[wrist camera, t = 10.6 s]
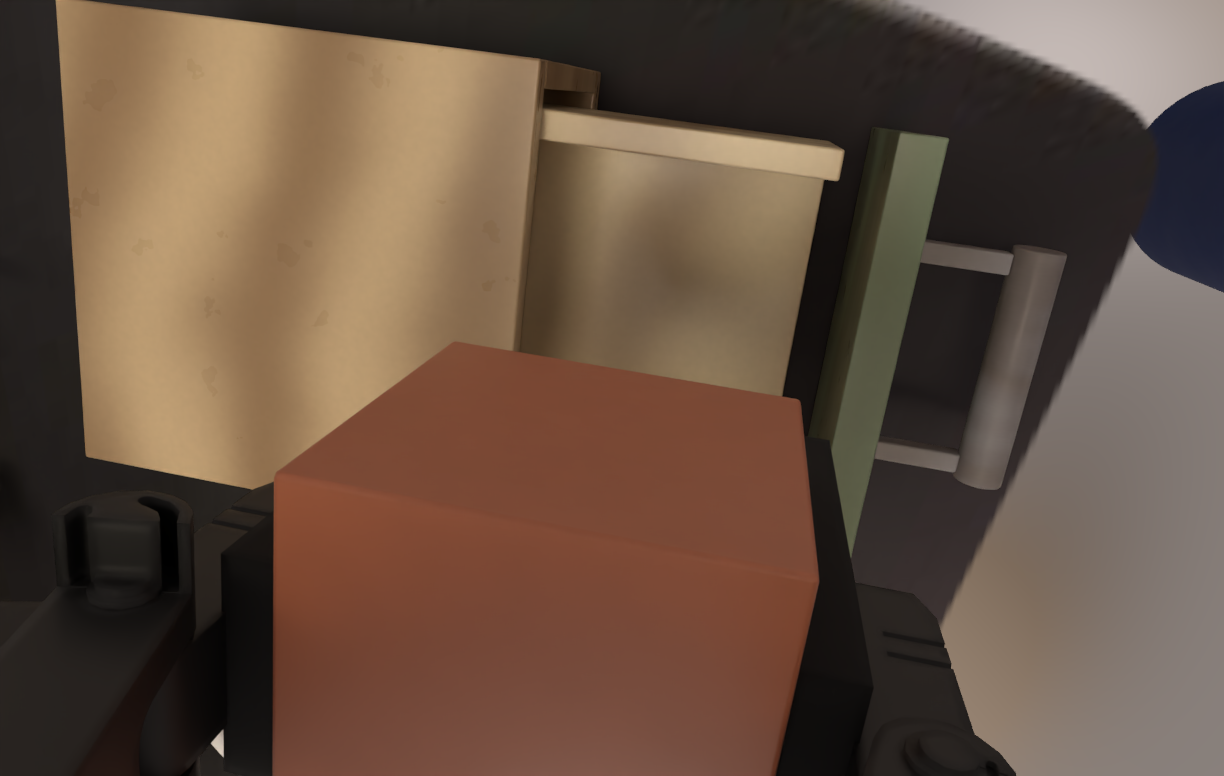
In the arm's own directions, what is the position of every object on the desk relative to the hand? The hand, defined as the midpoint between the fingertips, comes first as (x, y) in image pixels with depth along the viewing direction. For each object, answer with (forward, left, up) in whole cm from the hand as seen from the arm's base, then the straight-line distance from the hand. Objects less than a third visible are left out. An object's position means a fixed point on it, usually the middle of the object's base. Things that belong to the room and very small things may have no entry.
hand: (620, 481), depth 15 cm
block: (0, 0, +2) cm, 2 cm away
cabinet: (+11, 0, -18) cm, 21 cm away
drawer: (-2, 0, -17) cm, 17 cm away
